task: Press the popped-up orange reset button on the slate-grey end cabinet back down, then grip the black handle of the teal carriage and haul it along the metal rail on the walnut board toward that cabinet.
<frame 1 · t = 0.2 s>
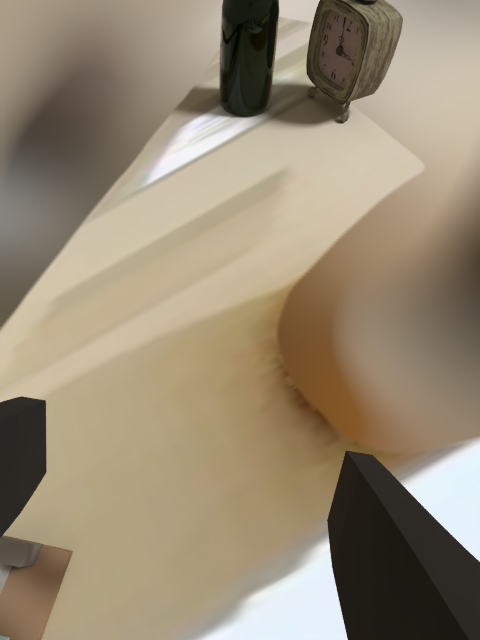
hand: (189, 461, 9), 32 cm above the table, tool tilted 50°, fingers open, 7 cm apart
green wine bottle: (244, 104, 75), on the table
tabletop clock: (336, 106, 77), on the table
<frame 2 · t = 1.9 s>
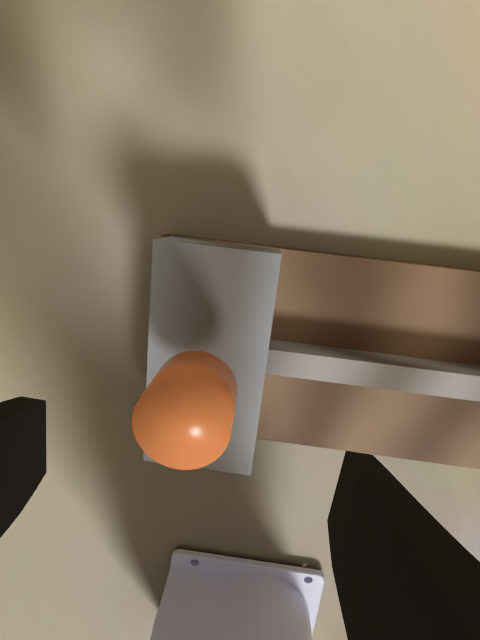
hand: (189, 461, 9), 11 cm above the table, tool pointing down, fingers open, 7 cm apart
reset button: (189, 406, 12), point 7 cm above the table, slide at 2.0 cm
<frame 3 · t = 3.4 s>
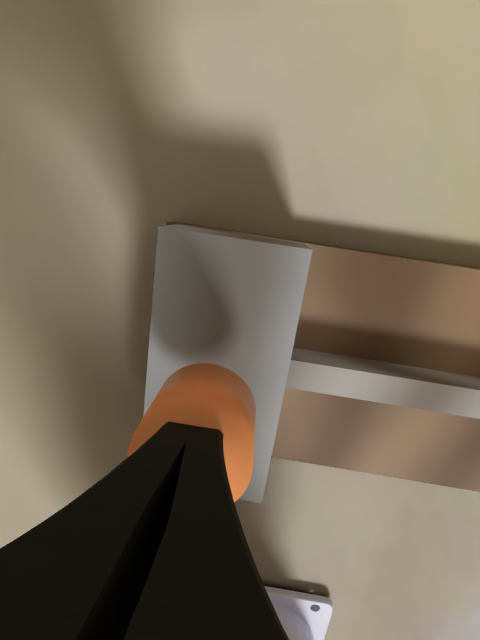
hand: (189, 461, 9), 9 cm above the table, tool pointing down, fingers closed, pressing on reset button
reset button: (199, 432, 10), point 7 cm above the table, slide at 2.0 cm, touching gripper
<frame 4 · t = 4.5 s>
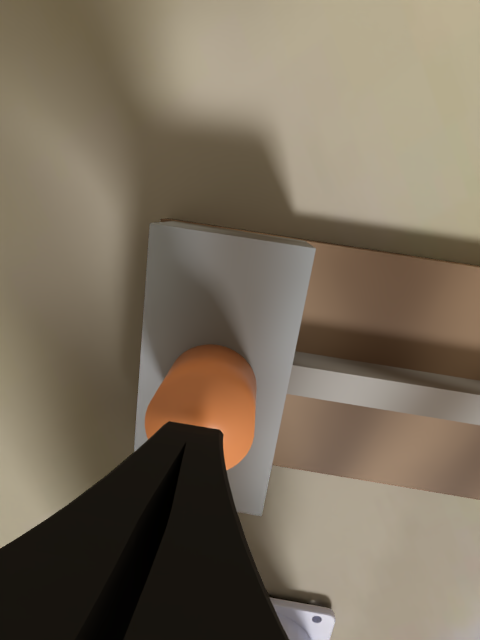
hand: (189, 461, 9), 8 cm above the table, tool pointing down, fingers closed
reset button: (206, 405, 11), point 5 cm above the table, slide at -0.1 cm, touching rail board
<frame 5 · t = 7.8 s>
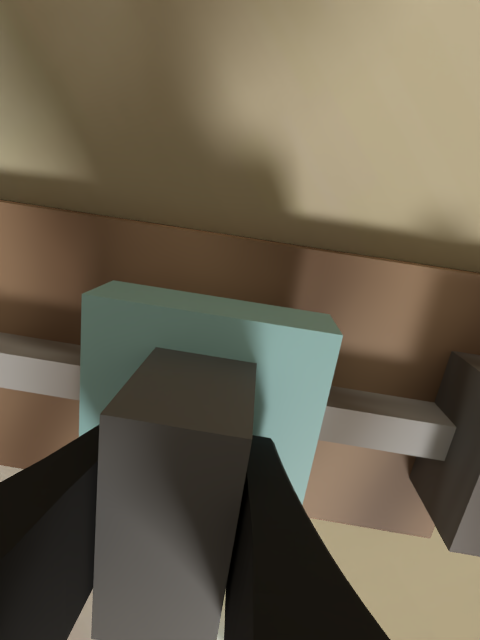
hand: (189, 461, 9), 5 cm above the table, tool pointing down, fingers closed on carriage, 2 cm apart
carriage: (189, 461, 9), point 5 cm above the table, slide at 4.0 cm, touching gripper
rail board: (113, 354, 14), on the table
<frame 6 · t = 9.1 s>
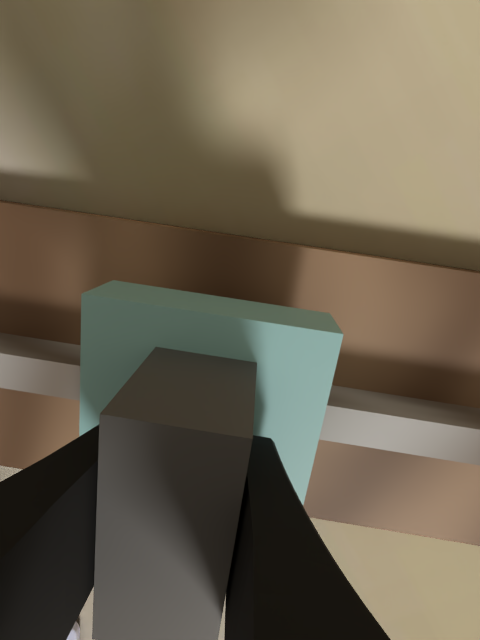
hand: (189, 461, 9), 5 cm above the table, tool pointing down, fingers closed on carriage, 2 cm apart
carriage: (190, 461, 9), point 5 cm above the table, slide at -1.0 cm, touching gripper
rail board: (244, 375, 14), on the table
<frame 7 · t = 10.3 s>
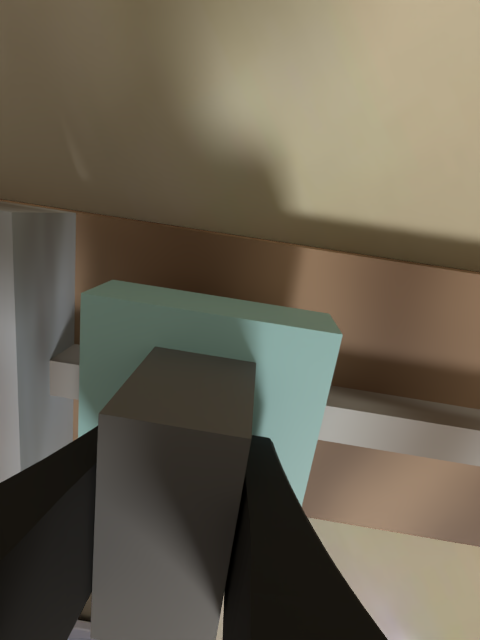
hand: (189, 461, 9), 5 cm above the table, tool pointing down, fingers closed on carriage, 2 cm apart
carriage: (189, 460, 9), point 5 cm above the table, slide at -6.5 cm, touching gripper
rail board: (390, 398, 13), on the table
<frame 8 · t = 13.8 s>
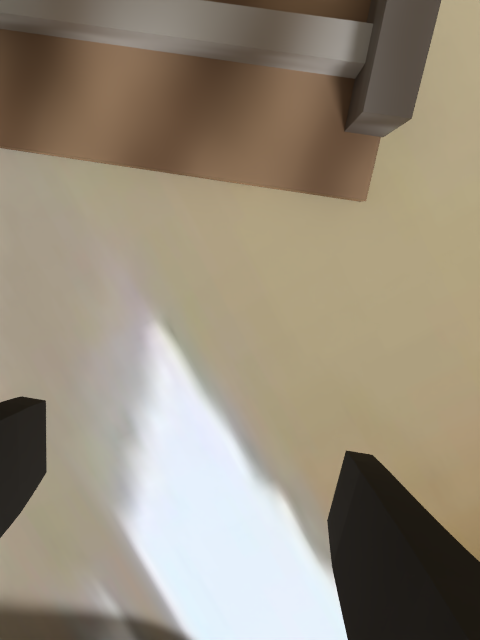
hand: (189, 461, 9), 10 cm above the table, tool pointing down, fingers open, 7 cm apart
rail board: (82, 33, 15), on the table
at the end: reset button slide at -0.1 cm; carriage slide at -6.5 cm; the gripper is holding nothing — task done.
